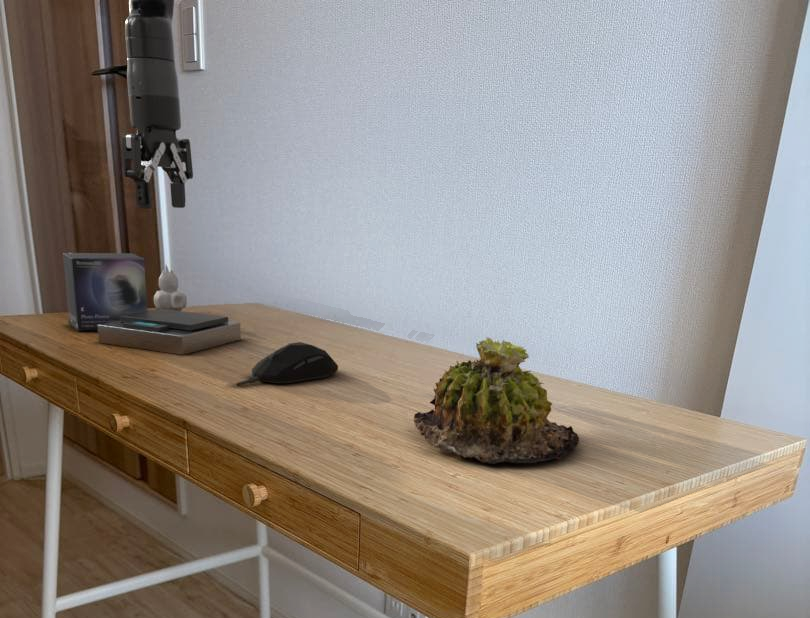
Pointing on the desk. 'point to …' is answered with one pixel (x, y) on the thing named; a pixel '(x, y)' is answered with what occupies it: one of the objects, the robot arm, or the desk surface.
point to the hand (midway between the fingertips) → (162, 208)
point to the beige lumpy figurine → (169, 292)
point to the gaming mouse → (293, 365)
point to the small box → (103, 287)
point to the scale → (167, 336)
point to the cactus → (494, 411)
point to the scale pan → (175, 319)
